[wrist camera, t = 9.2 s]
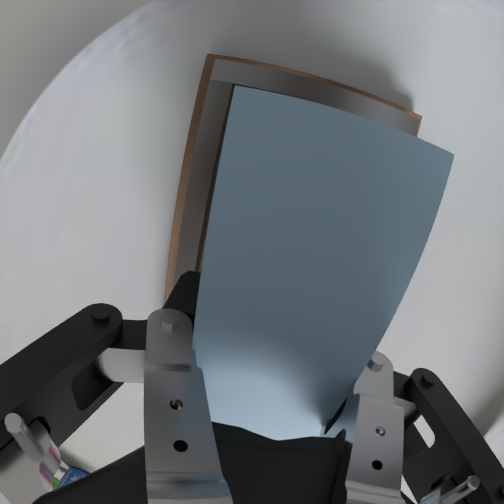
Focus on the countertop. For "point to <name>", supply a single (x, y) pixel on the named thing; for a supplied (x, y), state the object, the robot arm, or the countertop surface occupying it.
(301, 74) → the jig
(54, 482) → the snack cup
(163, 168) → the countertop surface
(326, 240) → the light blue rectangular block
